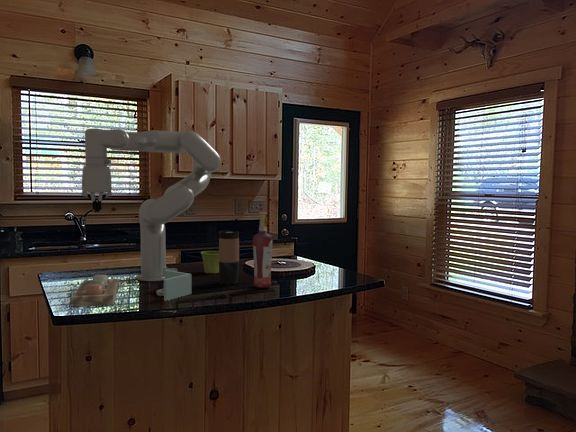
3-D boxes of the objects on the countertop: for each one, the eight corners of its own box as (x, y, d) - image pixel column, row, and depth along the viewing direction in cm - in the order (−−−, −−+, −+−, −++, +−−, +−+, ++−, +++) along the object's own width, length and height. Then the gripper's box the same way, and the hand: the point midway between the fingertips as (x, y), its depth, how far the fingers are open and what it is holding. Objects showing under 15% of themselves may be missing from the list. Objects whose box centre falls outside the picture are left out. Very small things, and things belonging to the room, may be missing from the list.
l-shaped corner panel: (166, 290, 176) (166, 270, 175) (191, 295, 170) (191, 273, 169) (140, 297, 166) (140, 275, 165) (166, 302, 160) (166, 279, 159)
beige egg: (108, 288, 176) (107, 274, 175) (106, 291, 171) (106, 276, 171) (93, 288, 174) (93, 274, 174) (92, 291, 170) (91, 277, 169)
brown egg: (103, 298, 160) (103, 283, 160) (101, 302, 156) (101, 286, 155) (87, 299, 159) (87, 284, 159) (85, 303, 154) (85, 287, 154)
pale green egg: (105, 293, 168) (105, 278, 167) (104, 296, 163) (104, 281, 163) (90, 293, 167) (90, 279, 166) (89, 297, 162) (88, 282, 162)
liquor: (268, 290, 176) (269, 212, 174) (249, 288, 178) (249, 212, 176) (274, 286, 183) (275, 211, 181) (256, 284, 185) (257, 211, 183)
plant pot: (213, 269, 215) (213, 250, 214) (227, 272, 209) (227, 252, 208) (196, 272, 208) (196, 252, 208) (209, 275, 202) (209, 254, 201)
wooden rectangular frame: (119, 286, 179) (119, 278, 179) (113, 304, 154) (113, 295, 154) (84, 288, 176) (83, 280, 176) (72, 306, 151) (71, 297, 151)
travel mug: (242, 282, 189) (242, 231, 188) (232, 286, 182) (232, 232, 181) (225, 280, 192) (225, 229, 191) (214, 284, 186) (214, 231, 184)
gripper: (118, 163, 187) (119, 211, 188) (76, 162, 183) (77, 211, 184) (116, 162, 180) (117, 212, 181) (72, 161, 176) (74, 212, 177)
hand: (97, 211), depth 183 cm, fingers closed
